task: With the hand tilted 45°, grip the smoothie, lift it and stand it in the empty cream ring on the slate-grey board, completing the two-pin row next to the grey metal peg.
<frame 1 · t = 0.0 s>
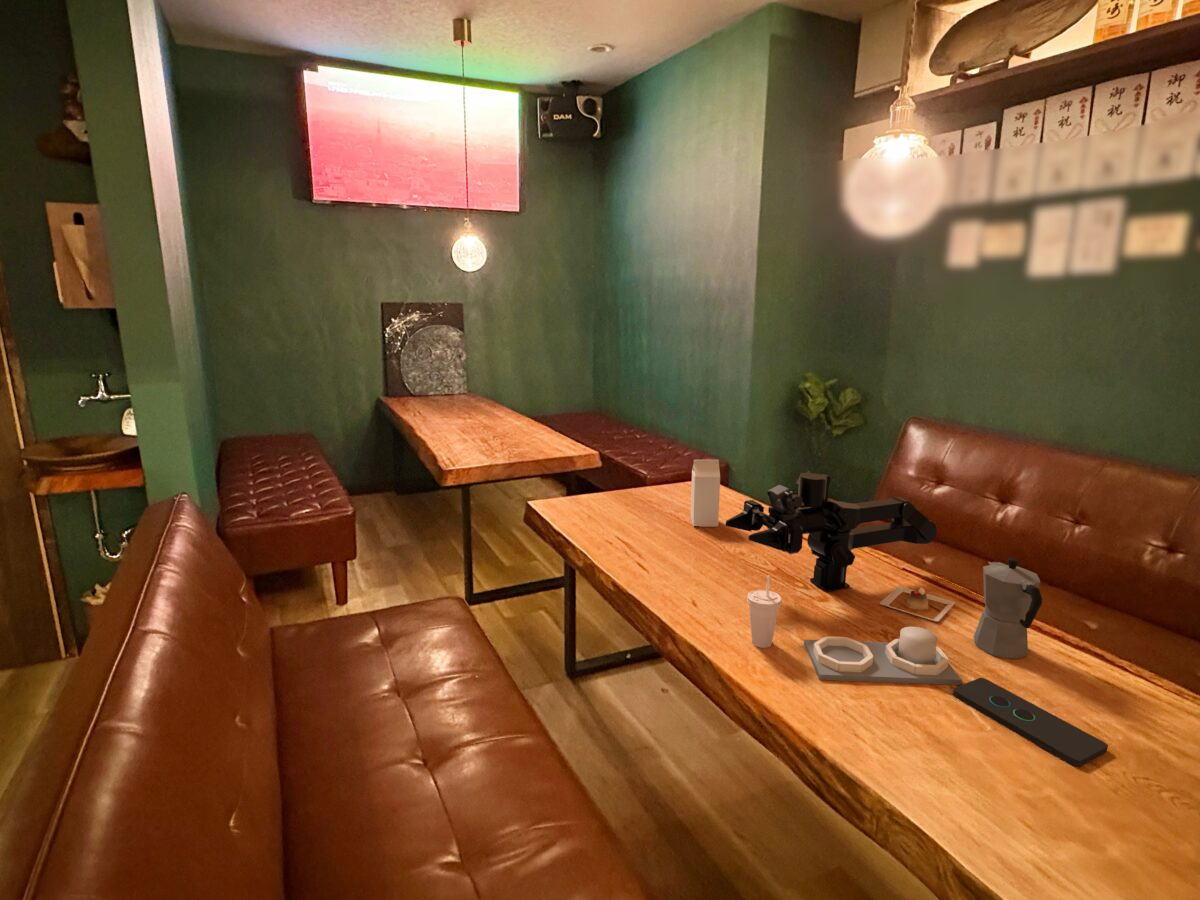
hand: (737, 530, 143), 17 cm above the table, tool horizontal, fingers open, 9 cm apart
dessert: (916, 608, 145), on the table
smart home device: (1023, 725, 106), on the table
coffeepot: (1003, 650, 127), on the table
milk carton: (704, 523, 196), on the table
layout board: (841, 662, 123), on the table
smoothie: (761, 643, 130), on the table
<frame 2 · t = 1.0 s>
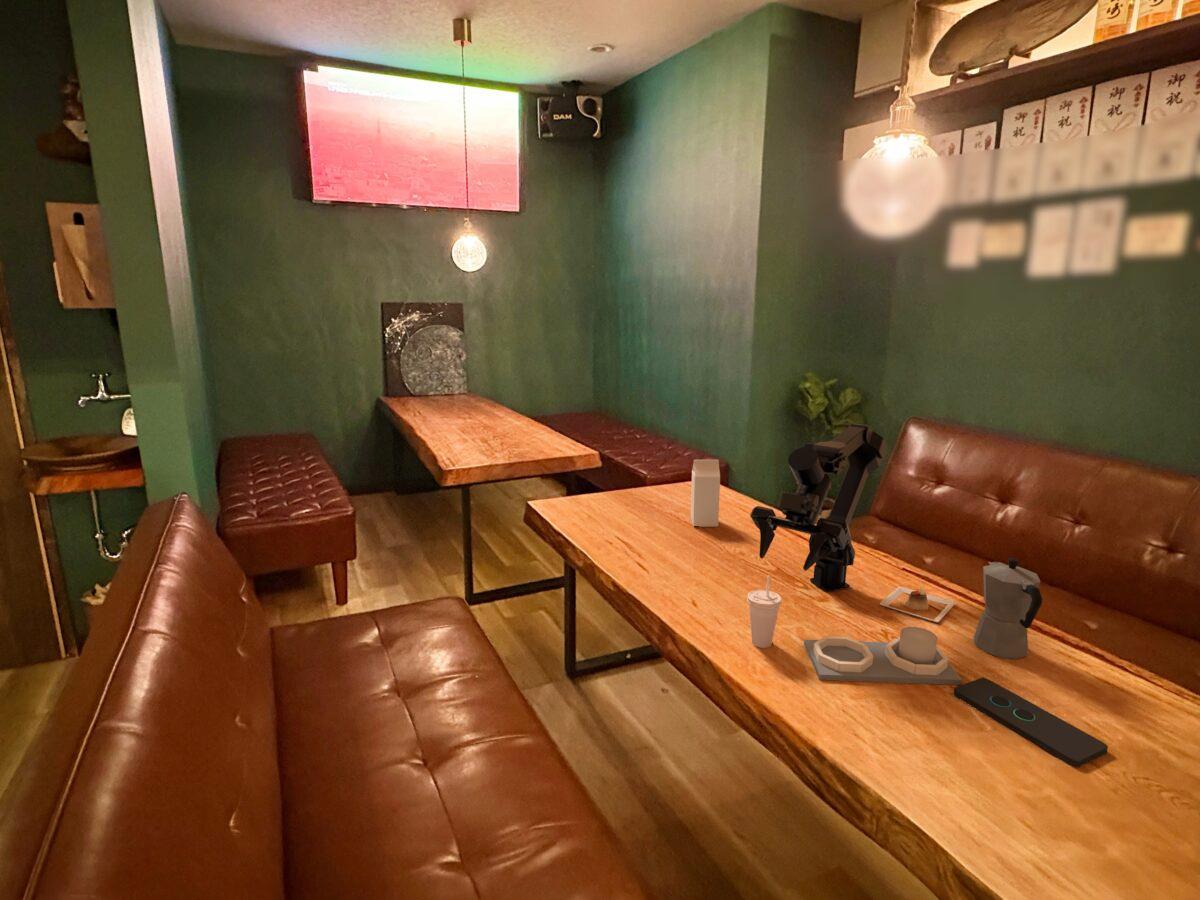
hand: (782, 563, 132), 14 cm above the table, tool tilted 45°, fingers open, 9 cm apart
nothing on the table moved.
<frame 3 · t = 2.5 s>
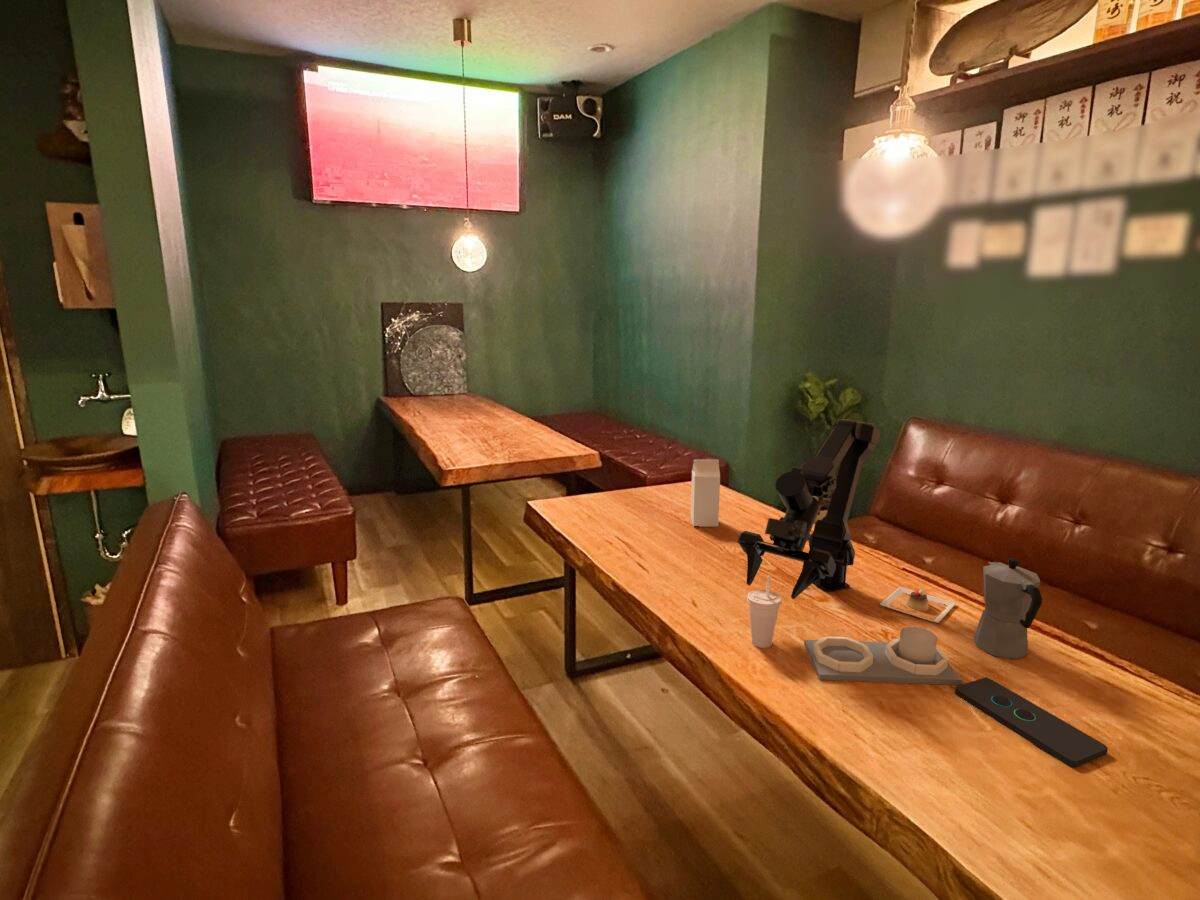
hand: (769, 591, 129), 10 cm above the table, tool tilted 45°, fingers open, 9 cm apart
nothing on the table moved.
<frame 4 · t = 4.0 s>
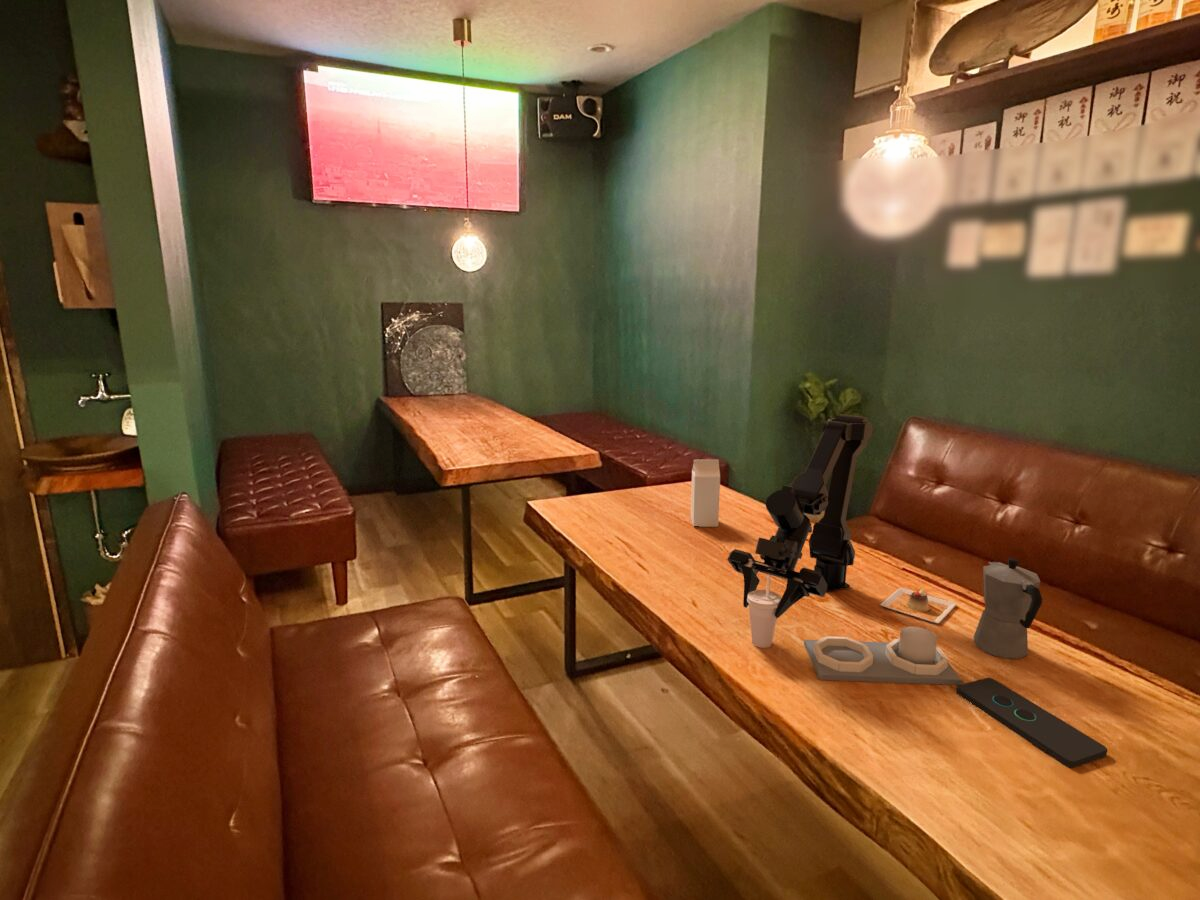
hand: (760, 611, 127), 7 cm above the table, tool tilted 45°, fingers closed on smoothie, 6 cm apart
smoothie: (761, 643, 130), on the table, touching gripper
everything else where it was.
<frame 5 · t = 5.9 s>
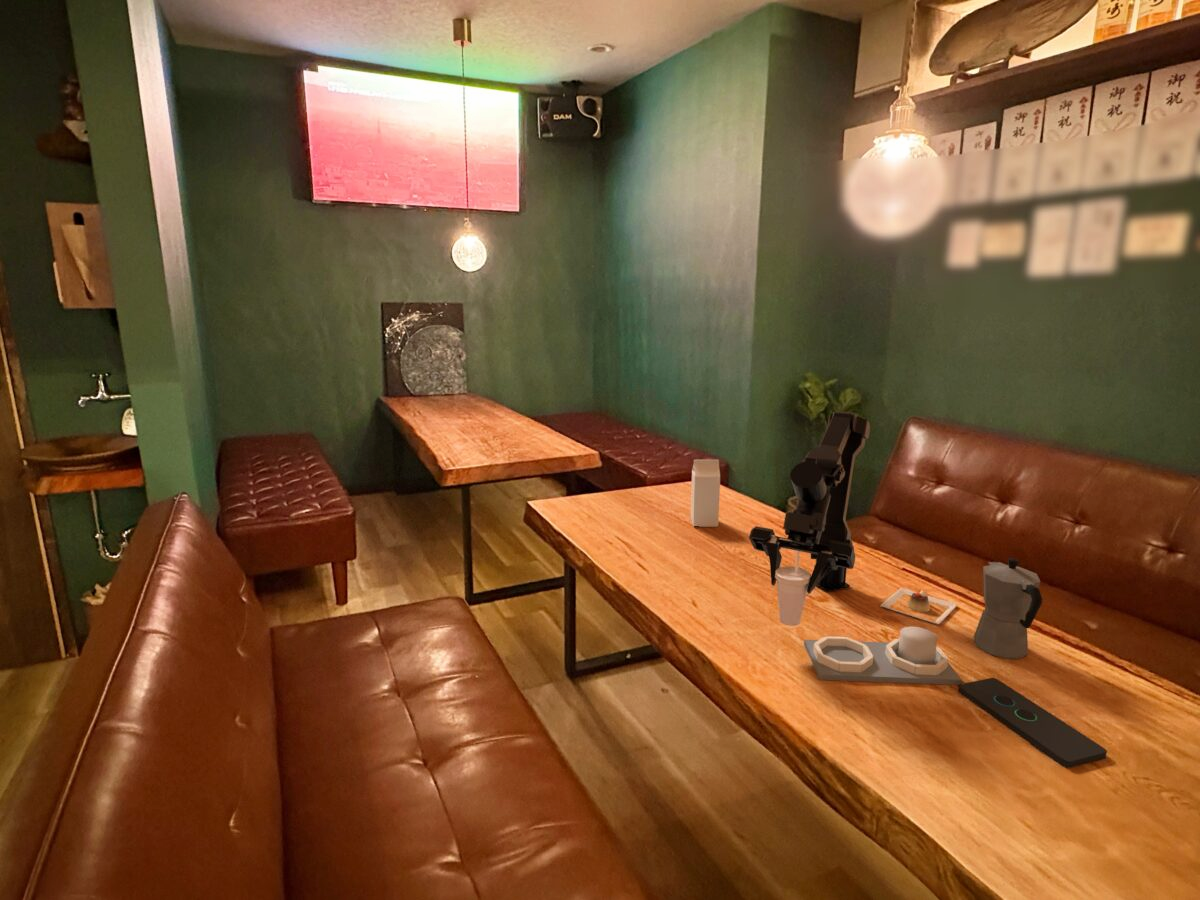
hand: (790, 588, 122), 13 cm above the table, tool tilted 45°, fingers closed on smoothie, 6 cm apart
smoothie: (789, 621, 125), point 6 cm above the table, touching gripper
when the fingers open (9 cm above the table, at t = 8.1 s): smoothie stays where it is, resting on layout board.
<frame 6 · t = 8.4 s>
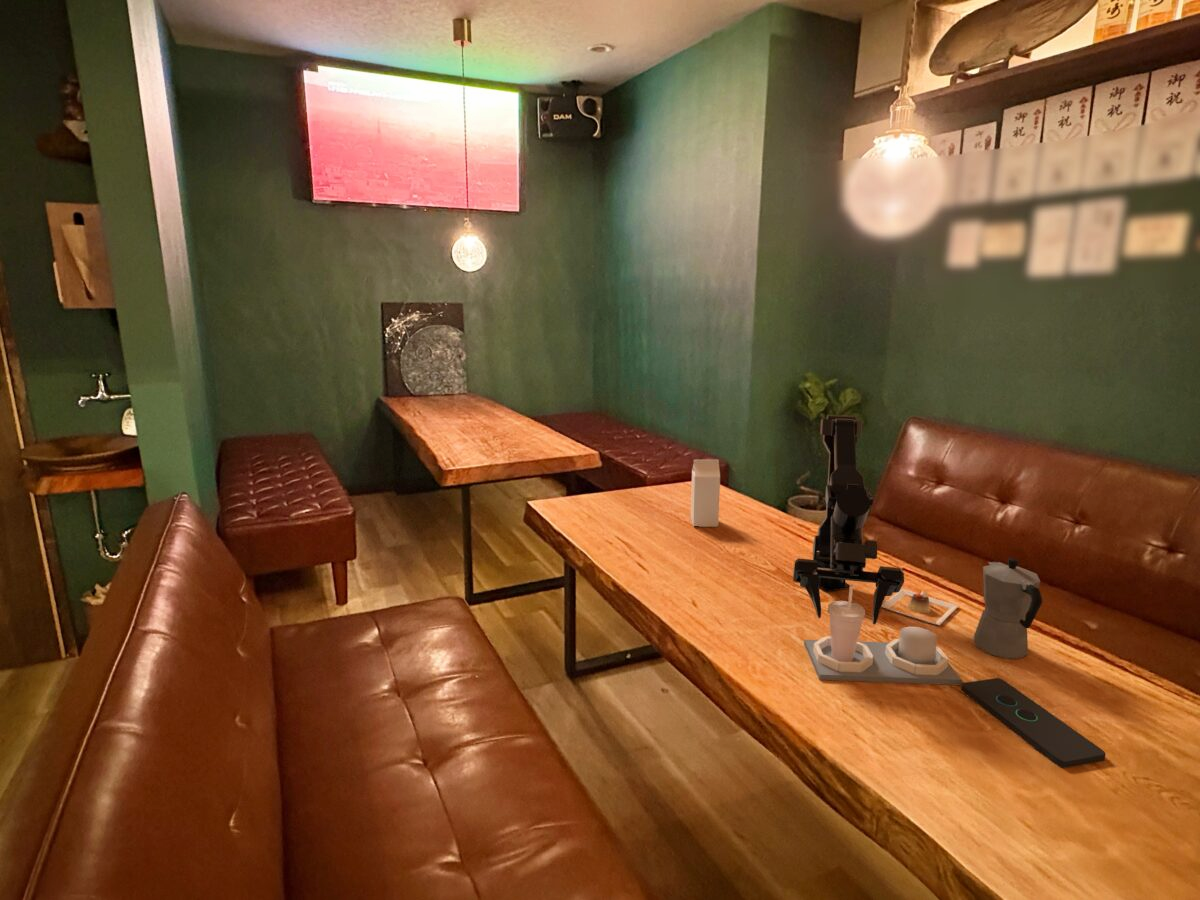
hand: (846, 620, 119), 9 cm above the table, tool tilted 45°, fingers open, 9 cm apart
smoothie: (842, 657, 123), point 1 cm above the table, touching layout board
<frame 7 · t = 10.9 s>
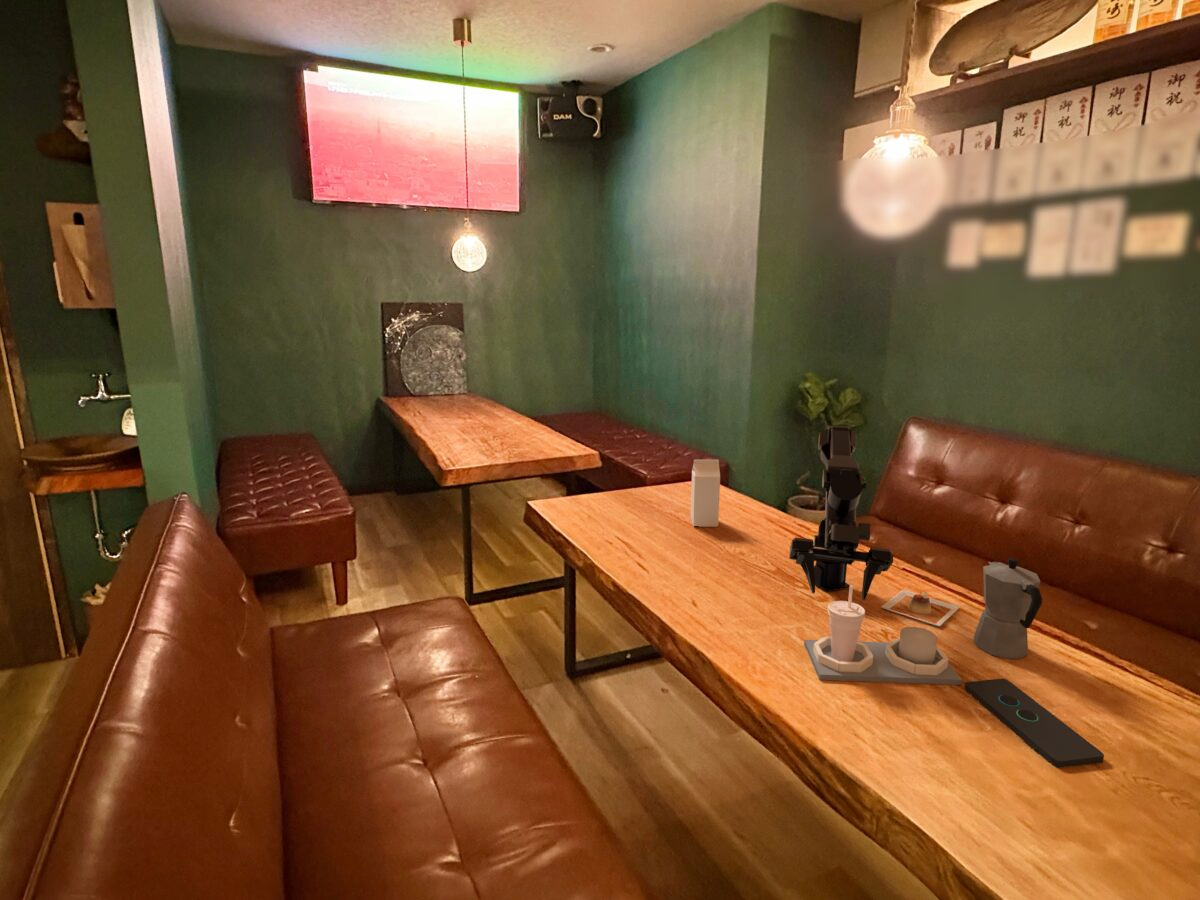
hand: (838, 596, 129), 9 cm above the table, tool tilted 40°, fingers open, 9 cm apart
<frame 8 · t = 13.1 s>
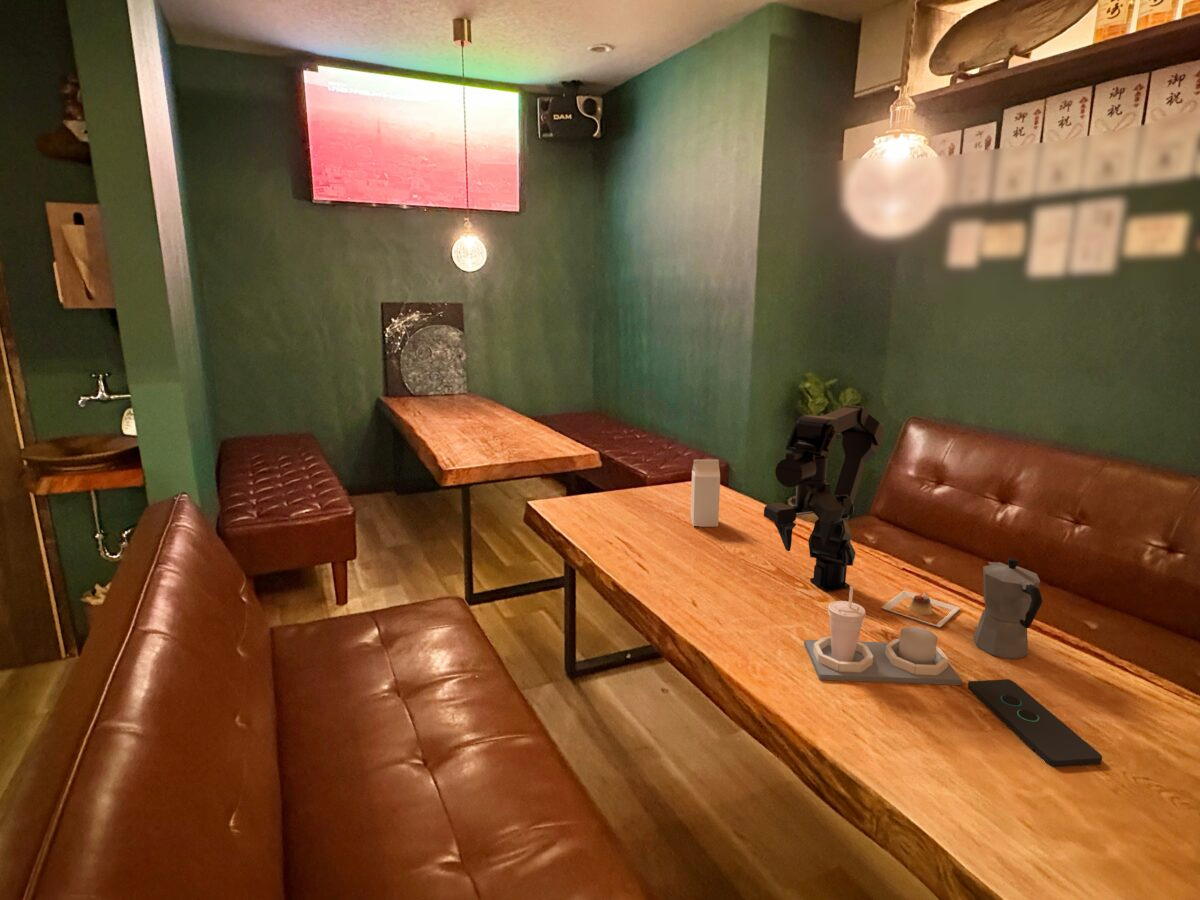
hand: (806, 547, 142), 13 cm above the table, tool pointing down, fingers open, 9 cm apart
at the end: smoothie 0.1 cm off-centre on the layout board, point 0.8 cm above the layout board's base; smoothie tilted 0°; the gripper is holding nothing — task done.
